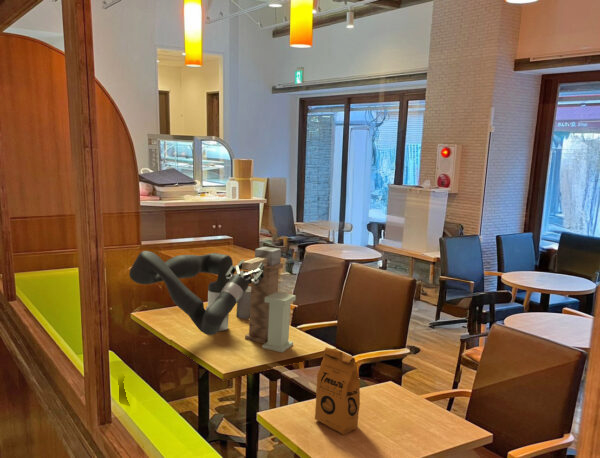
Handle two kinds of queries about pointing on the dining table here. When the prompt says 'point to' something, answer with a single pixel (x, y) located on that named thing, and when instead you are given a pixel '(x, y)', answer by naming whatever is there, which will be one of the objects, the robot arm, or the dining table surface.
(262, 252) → the mallet
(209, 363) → the dining table surface
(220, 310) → the robot arm
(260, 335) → the tall stand
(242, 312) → the pillar candle
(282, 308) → the pale green square pedestal
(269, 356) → the dining table surface
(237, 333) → the dining table surface
